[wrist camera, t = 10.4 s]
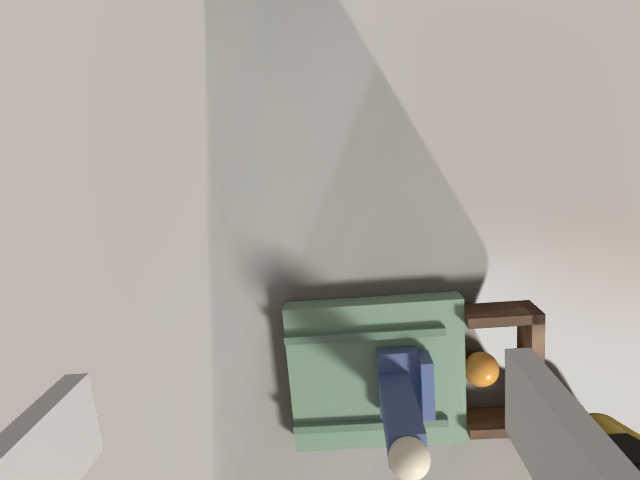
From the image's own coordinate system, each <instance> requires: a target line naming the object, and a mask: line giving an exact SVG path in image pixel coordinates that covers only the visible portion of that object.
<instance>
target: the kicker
mask: <svg viewBox="0 0 640 480" xmlns="http://www.w3.org/2000/svg"><path fill="white" fill-rule="evenodd" d="M376 362H377V379H378V395H379V411H380V418H381V419H382V421H383V427H384V434H385V441H386V447H387V454H388V460H389V467H390V469H392V471H393V472H394V473H395V475H397V476H398V477H399V478H400V479H402V480H420V479H421V478H423V477H424V476H425V475H426V474H427V472H428V470H429V468H430V463H431V458H430V453H429V450H428V448H427V434H426V430H425V427H424V424H423V421H436V416H435V386H434V363H433V361H432V358H431V356H430V353H429V351H428V350H417V348H416V346H406V347H389V348H376ZM421 416H422V417H421ZM422 419H423V420H422Z"/></svg>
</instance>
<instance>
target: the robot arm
mask: <svg viewBox="0 0 640 480" xmlns="http://www.w3.org/2000/svg"><path fill="white" fill-rule="evenodd" d="M505 430H506V432H507V434H508V435H509V437H510V439H511V441H512V443H513V444H514V446H515V448H516V450H517V452H518V453H519V455H520V457H521V459H522V461H523V462H524V464H525V466H526V468H527V470H528V471H529V473H530V475H531V477H532V479H533V480H640V440H639V439H637V438H635V437H634V436H632V435H630V434H628V433H615V434H606V433H605V431H604V430H603V429H602V428H601V427H600V426H599V425H598V423H597V422H596V421H595V420H594V419H593V418H592V417H591V416H590V414H589V413H588V412H587V411H586V410H585V409H584V408H583V406H582V405H581V404H580V403H579V402H578V401H577V400H576V398H575V397H574V396H573V395H572V394H571V393H570V392H569V391H568V389H567V388H566V387H565V386H564V385H563V384H562V383H561V381H560V380H559V379H558V378H557V377H556V376H555V375H554V374H553V372H552V371H551V370H550V369H549V368H548V367H547V366H546V364H545V363H544V362H543V361H542V360H541V359H540V358H539V356H538V355H537V354H536V353H535V352H534V351H533V350H532V349H531V348H515V349H505ZM102 450H103V444H102V439H101V434H100V429H99V424H98V419H97V414H96V409H95V404H94V399H93V394H92V389H91V384H90V379H89V374H88V373H86V374H70V375H69V374H68V375H64V376H63V377H62V378H61V379H60V380H59V381H58V382H57V383H55V384H54V385H53V386H52V387H51V388H50V389H49V390H48V391H46V392H45V393H44V394H43V395H42V396H41V397H40V398H39V399H38V400H36V401H35V402H34V403H33V404H32V405H31V406H30V407H29V408H28V409H26V410H25V411H24V412H23V413H22V414H21V415H20V416H19V417H18V418H16V419H15V420H14V421H13V422H12V423H11V424H10V425H9V426H7V427H6V428H5V429H4V430H3V431H2V432H1V433H0V480H81V479H82V478H83V476H84V475H85V474H86V472H87V471H88V470H89V468H90V467H91V465H92V464H93V463H94V462H95V460H96V459H97V457H98V456H99V455H100V453H101V452H102Z"/></svg>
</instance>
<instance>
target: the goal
mask: <svg viewBox="0 0 640 480" xmlns="http://www.w3.org/2000/svg"><path fill="white" fill-rule="evenodd" d="M464 312H465V324H466V326H467V327H468V329H476V328H492V327H509V326H517V348H531V349H532V350H533V351H534V352H535V353H536V354H537V355H538V356H539V358H540V359H541V360H542V361H543V362H544V358H545V356H544V355H545V314H544V313H543V312H542V311H541V310H540V309H539V308H538V307H536V306H535V305H534V304H533V303H532V302H531V301H530V300H523V301H509V302H508V301H507V302H492V303H476V304H464ZM466 420H467V433H468V435H469V437H470V440H471V439H492V438H510V437H509V435H508V434H507V432H506V430H505V406H504V407H485V408H466Z"/></svg>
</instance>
